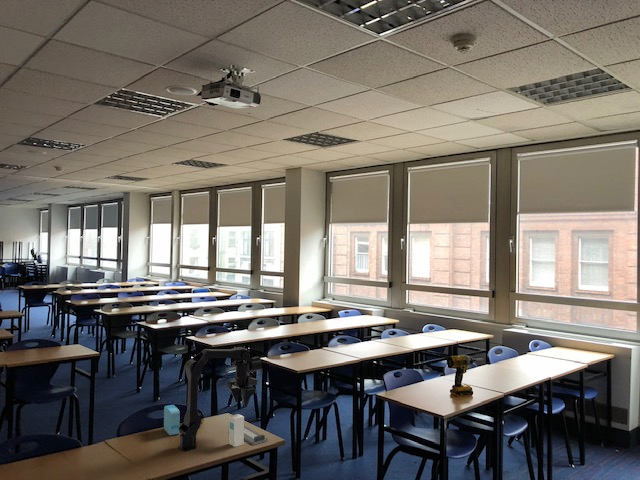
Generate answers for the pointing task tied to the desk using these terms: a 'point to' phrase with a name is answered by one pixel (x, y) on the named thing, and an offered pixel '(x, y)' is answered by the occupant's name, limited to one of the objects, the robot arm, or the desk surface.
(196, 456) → the desk surface
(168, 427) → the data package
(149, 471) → the desk surface
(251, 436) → the mounting plate
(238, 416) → the block
